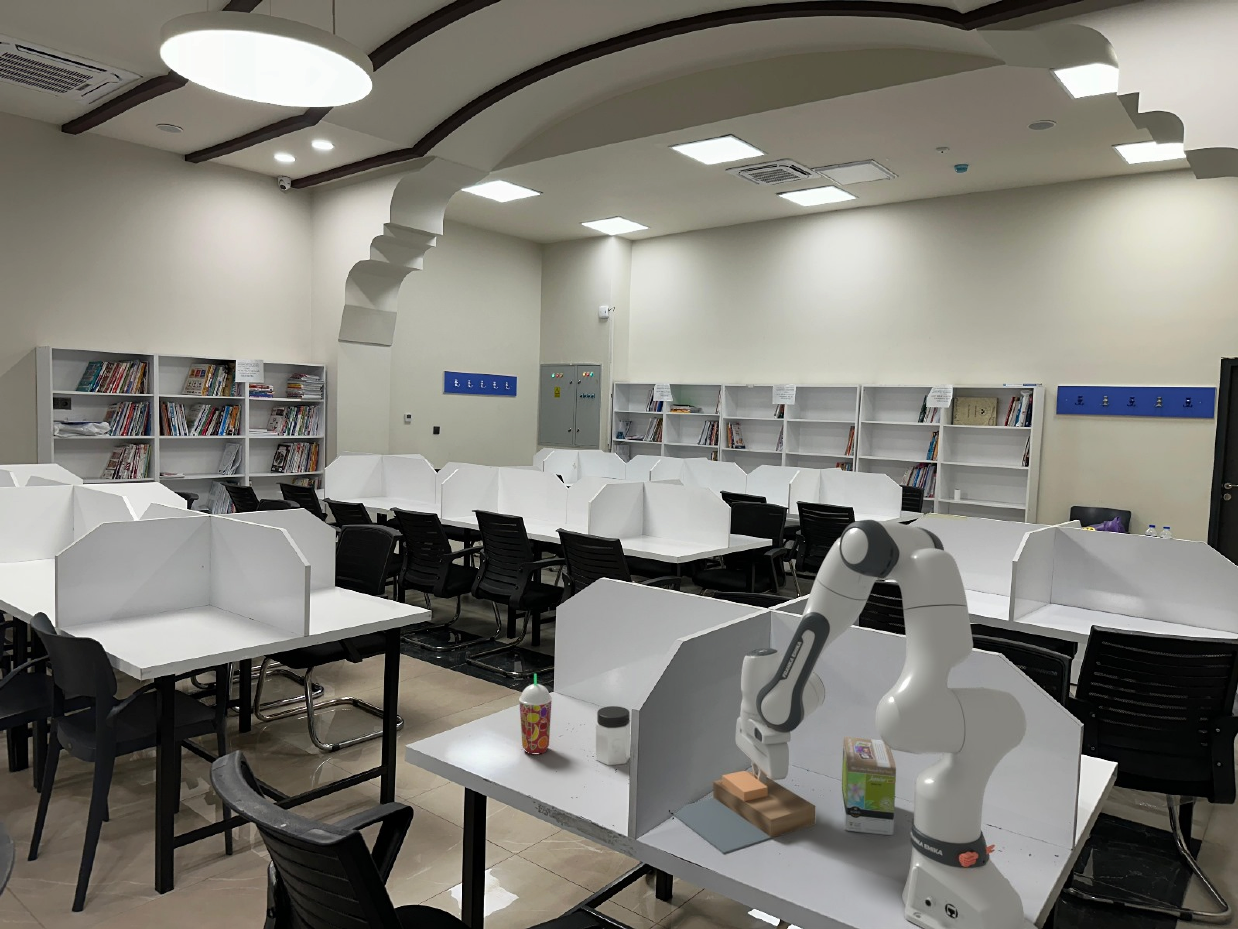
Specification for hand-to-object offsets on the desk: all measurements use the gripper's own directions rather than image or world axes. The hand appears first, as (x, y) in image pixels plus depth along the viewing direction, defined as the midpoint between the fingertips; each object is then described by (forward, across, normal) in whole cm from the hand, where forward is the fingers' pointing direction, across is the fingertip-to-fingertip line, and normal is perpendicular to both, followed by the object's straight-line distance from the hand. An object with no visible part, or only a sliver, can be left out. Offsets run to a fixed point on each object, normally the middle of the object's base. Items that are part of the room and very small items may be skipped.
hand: (759, 782), depth 186 cm
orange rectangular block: (+1, +1, -4) cm, 4 cm away
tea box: (+5, +12, +20) cm, 24 cm away
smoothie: (+5, -42, -43) cm, 60 cm away
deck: (+5, +3, -1) cm, 6 cm away
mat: (+5, +6, -12) cm, 15 cm away
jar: (+5, -32, -25) cm, 41 cm away
